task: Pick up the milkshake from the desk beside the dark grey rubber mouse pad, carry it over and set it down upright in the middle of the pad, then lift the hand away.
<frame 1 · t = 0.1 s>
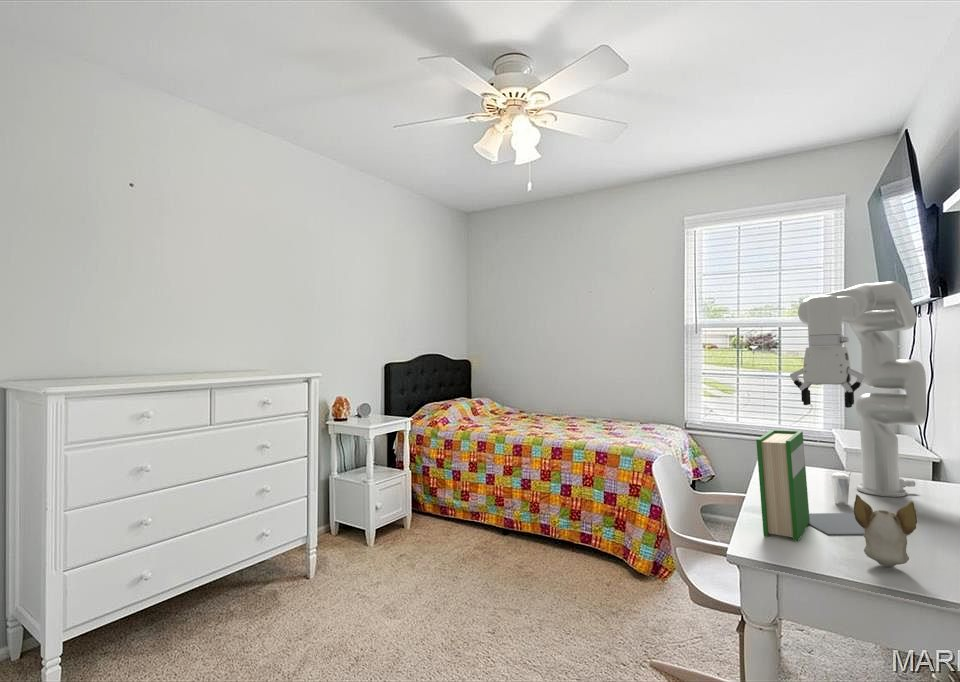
hand: (827, 405, 138), 31 cm above the table, tool pointing down, fingers open, 9 cm apart
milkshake: (843, 504, 154), on the table
hardback book: (787, 529, 133), on the table, touching mouse pad
ceramic sculpture: (886, 568, 109), on the table
mouse pad: (846, 524, 136), on the table
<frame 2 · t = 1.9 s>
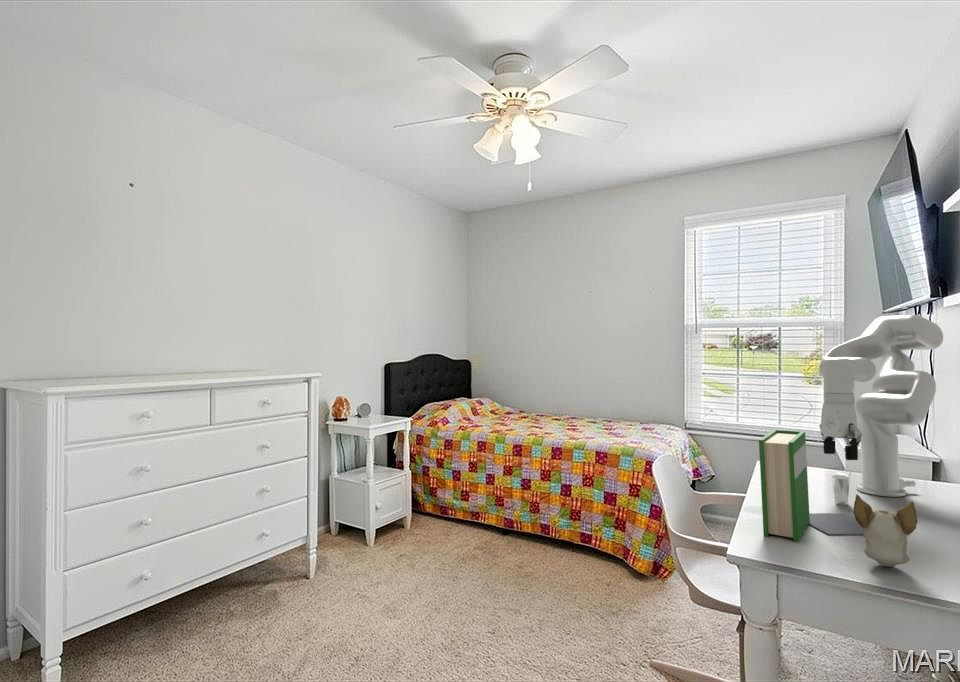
hand: (840, 456, 154), 14 cm above the table, tool pointing down, fingers open, 9 cm apart
nothing on the table moved.
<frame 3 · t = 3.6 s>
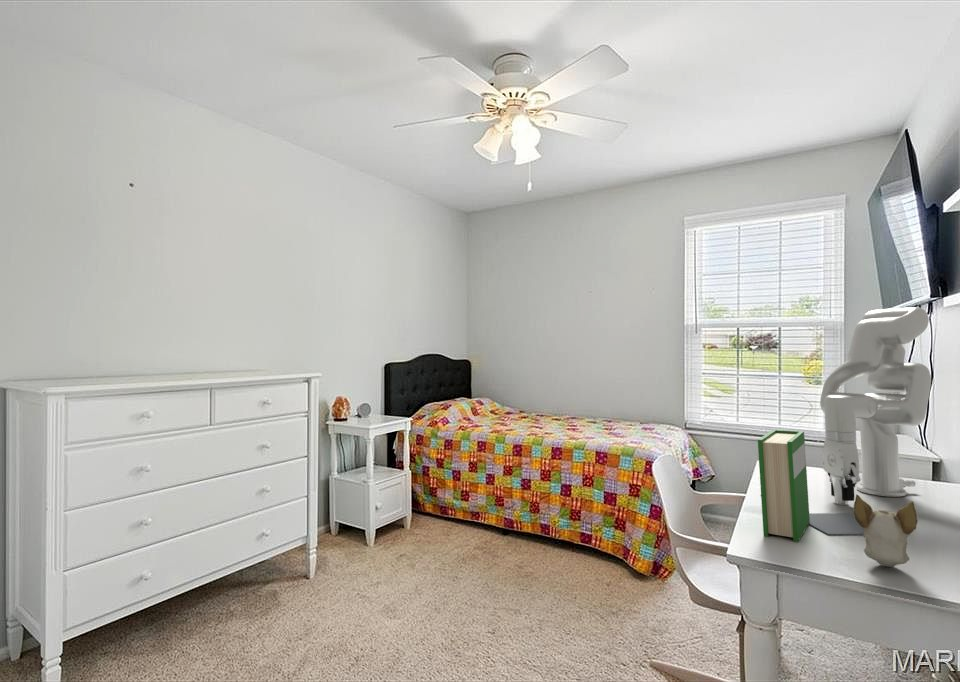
hand: (842, 497, 154), 2 cm above the table, tool pointing down, fingers closed on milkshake, 4 cm apart
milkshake: (842, 504, 154), on the table, touching gripper
everything else where it was.
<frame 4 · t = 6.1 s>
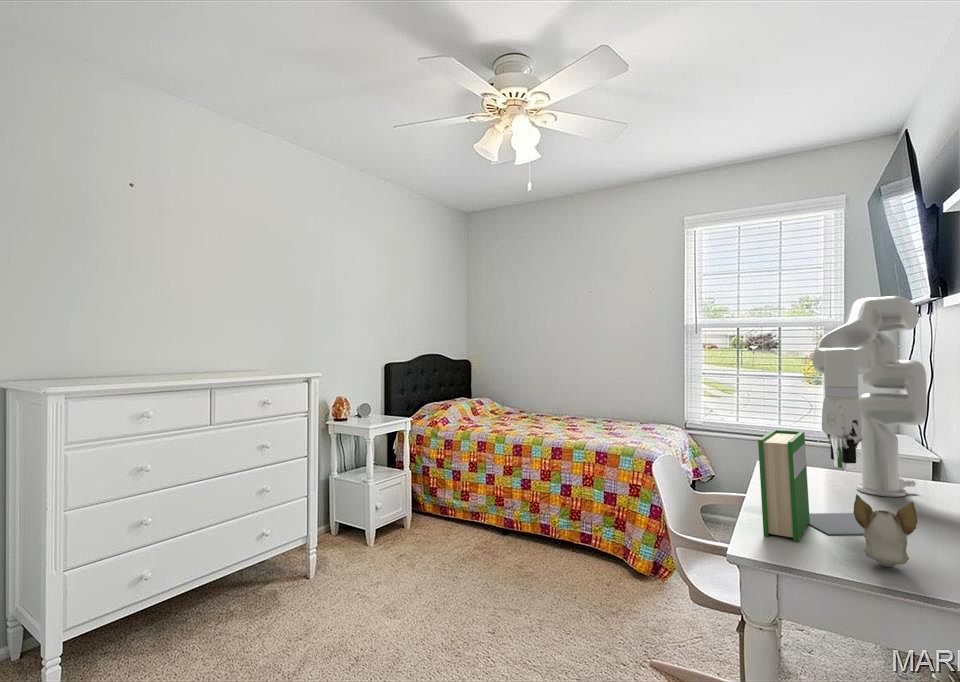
hand: (843, 460, 139), 16 cm above the table, tool pointing down, fingers closed on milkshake, 4 cm apart
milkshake: (843, 467, 139), point 14 cm above the table, touching gripper
everything else where it was.
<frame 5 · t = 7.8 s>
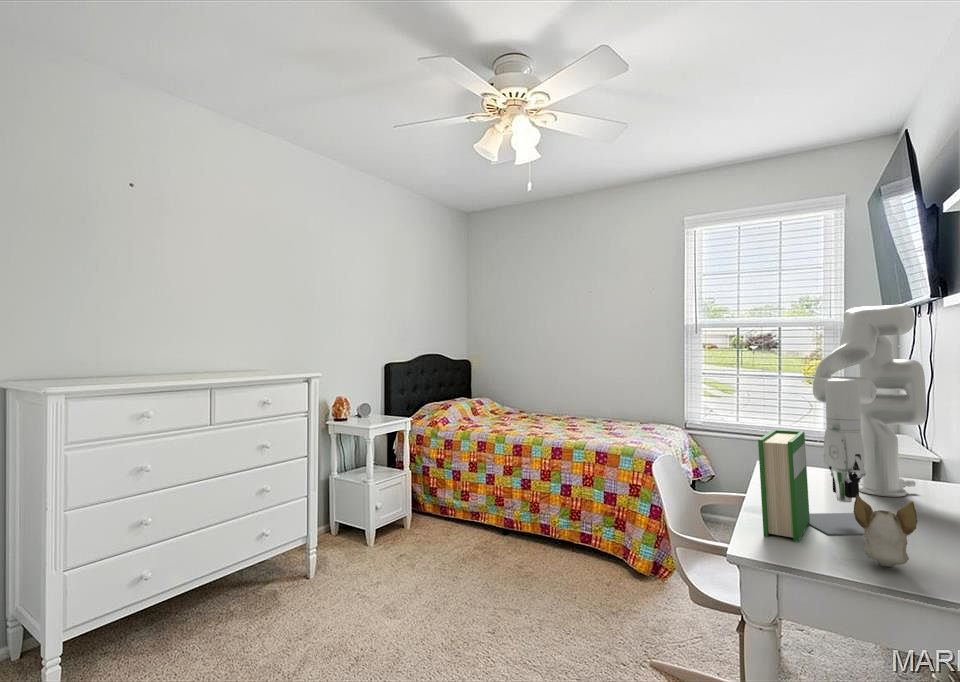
hand: (845, 494, 136), 8 cm above the table, tool pointing down, fingers closed on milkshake, 4 cm apart
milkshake: (845, 501, 136), point 6 cm above the table, touching gripper
everything else where it was.
when the fingers open (3 cm above the table, at t = 9.0 s): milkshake drops 1 cm, resting on mouse pad.
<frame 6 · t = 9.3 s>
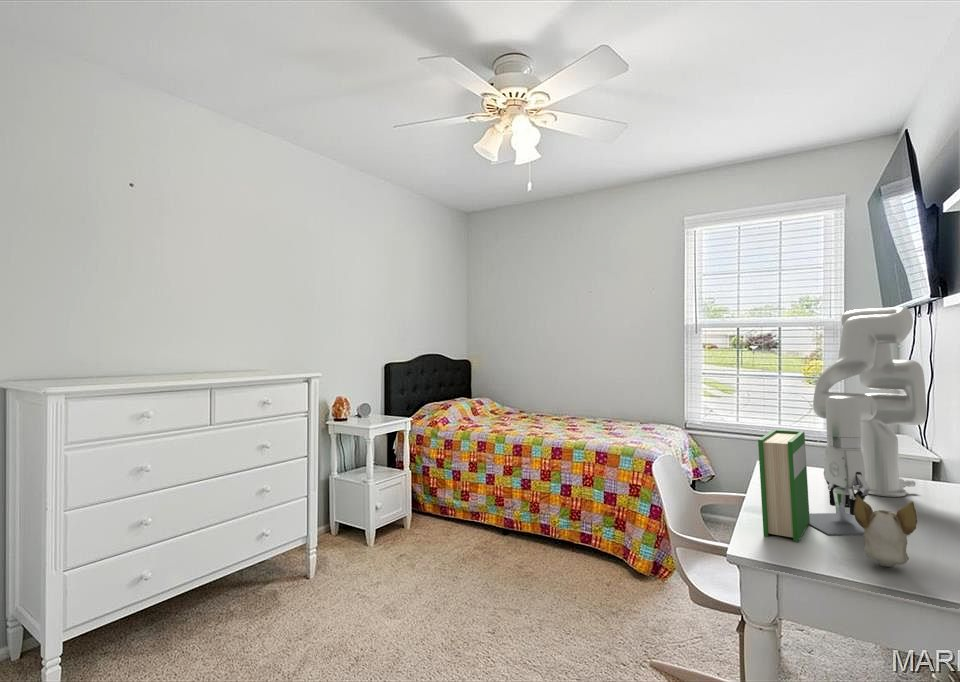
hand: (846, 509, 136), 4 cm above the table, tool pointing down, fingers open, 7 cm apart
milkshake: (846, 523, 136), resting on mouse pad
everything else where it was.
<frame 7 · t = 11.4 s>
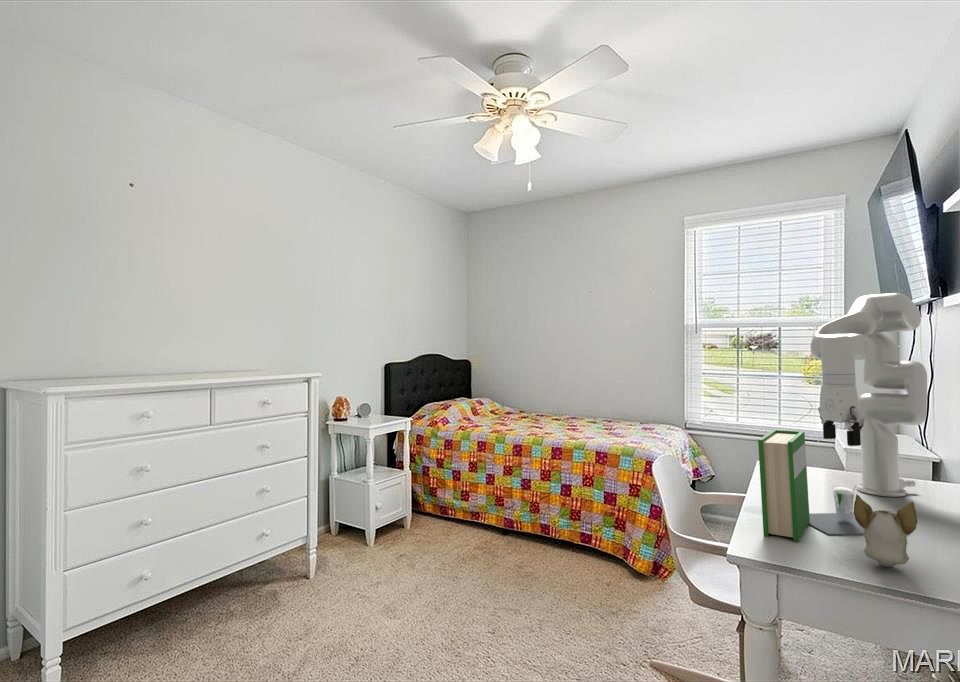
hand: (841, 441, 142), 21 cm above the table, tool pointing down, fingers open, 9 cm apart
nothing on the table moved.
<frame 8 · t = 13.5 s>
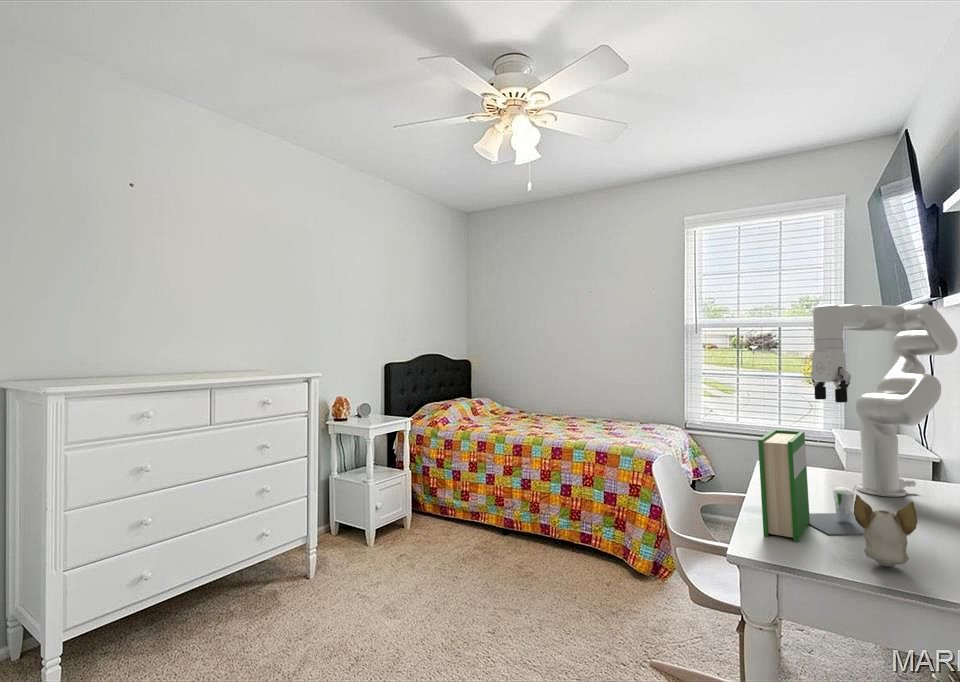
hand: (830, 400, 158), 30 cm above the table, tool pointing down, fingers open, 9 cm apart
nothing on the table moved.
at the end: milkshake inside the target area on the mouse pad (0.3 cm from its centre), point 0.2 cm above the mouse pad's base; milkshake tilted 0°; the gripper is holding nothing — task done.
